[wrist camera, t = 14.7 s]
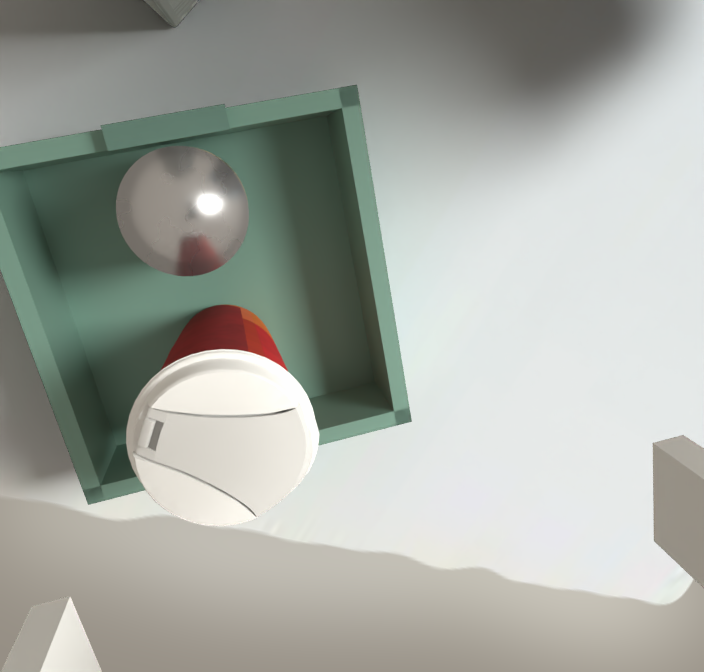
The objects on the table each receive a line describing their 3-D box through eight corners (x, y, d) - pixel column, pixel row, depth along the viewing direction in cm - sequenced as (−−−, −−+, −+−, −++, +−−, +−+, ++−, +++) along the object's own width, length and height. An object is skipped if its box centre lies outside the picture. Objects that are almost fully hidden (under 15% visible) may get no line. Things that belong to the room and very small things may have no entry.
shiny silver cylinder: (130, 159, 35) (97, 158, 26) (232, 140, 35) (232, 133, 27) (158, 260, 36) (136, 289, 28) (255, 240, 37) (262, 262, 29)
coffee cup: (146, 387, 38) (97, 517, 24) (181, 269, 37) (151, 335, 23) (268, 418, 41) (289, 553, 27) (306, 308, 39) (350, 390, 25)
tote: (2, 154, 34) (-53, 152, 27) (337, 95, 37) (360, 80, 30) (108, 458, 40) (84, 515, 34) (388, 388, 43) (416, 429, 36)
